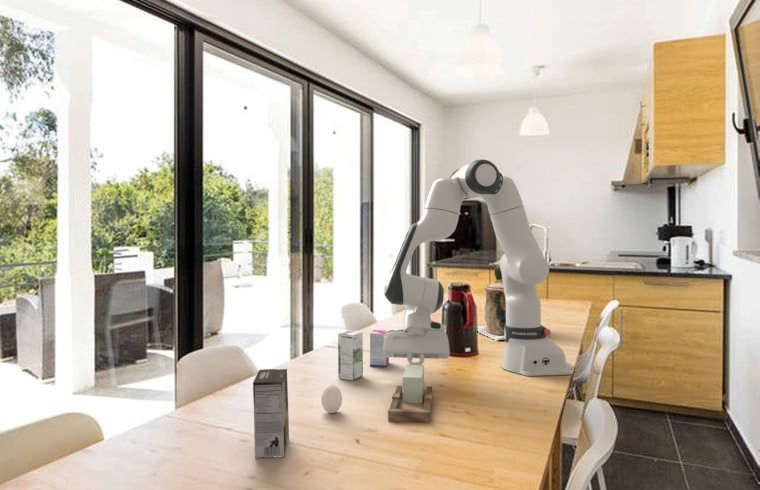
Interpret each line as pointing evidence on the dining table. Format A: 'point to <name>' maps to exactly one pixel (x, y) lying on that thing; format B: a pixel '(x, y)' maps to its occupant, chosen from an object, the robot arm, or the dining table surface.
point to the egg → (331, 398)
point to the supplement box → (377, 349)
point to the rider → (413, 384)
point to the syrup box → (350, 355)
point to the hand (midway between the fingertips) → (415, 369)
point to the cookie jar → (495, 309)
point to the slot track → (409, 414)
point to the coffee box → (271, 413)
